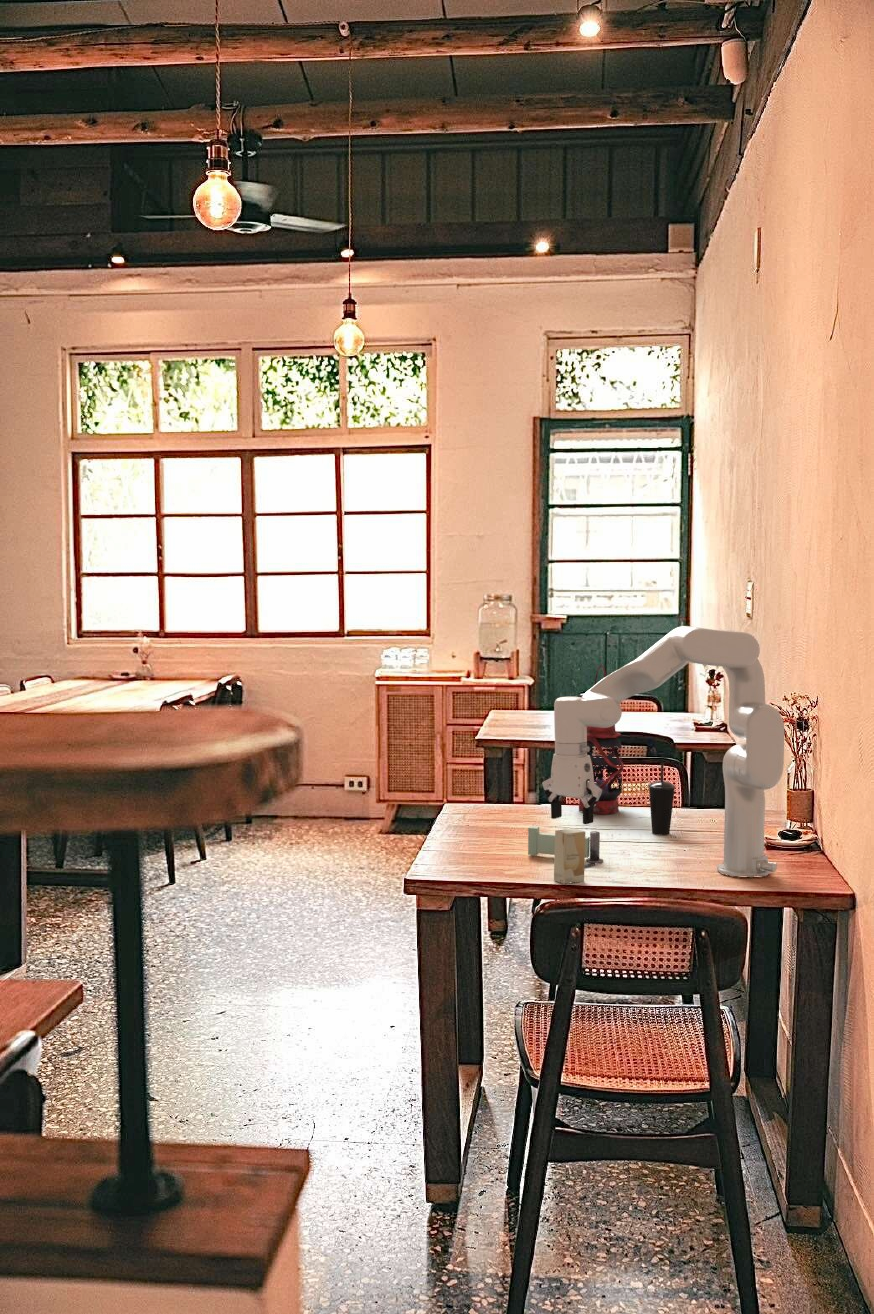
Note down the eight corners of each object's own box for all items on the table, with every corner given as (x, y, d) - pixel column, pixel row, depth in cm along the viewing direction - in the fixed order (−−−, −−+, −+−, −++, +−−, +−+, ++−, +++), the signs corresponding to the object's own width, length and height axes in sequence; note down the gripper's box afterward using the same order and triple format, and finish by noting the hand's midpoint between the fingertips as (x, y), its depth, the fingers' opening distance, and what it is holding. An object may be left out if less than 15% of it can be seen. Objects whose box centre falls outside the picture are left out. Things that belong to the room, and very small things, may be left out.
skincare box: (564, 885, 286) (564, 833, 285) (553, 881, 289) (553, 830, 288) (585, 881, 289) (586, 830, 288) (574, 877, 293) (574, 827, 292)
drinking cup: (674, 837, 338) (676, 765, 336) (646, 835, 339) (648, 764, 338) (674, 831, 345) (676, 761, 344) (647, 830, 347) (648, 760, 345)
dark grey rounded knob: (606, 861, 309) (607, 832, 308) (595, 864, 306) (596, 835, 305) (593, 858, 312) (593, 829, 311) (582, 861, 309) (582, 832, 308)
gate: (589, 857, 310) (589, 830, 310) (587, 860, 308) (587, 832, 308) (530, 852, 316) (531, 826, 315) (528, 854, 314) (528, 827, 313)
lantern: (583, 804, 384) (585, 662, 381) (628, 808, 378) (631, 664, 375) (569, 813, 369) (571, 666, 366) (616, 817, 364) (618, 668, 361)
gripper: (609, 750, 283) (611, 823, 285) (553, 744, 296) (554, 813, 297) (589, 754, 278) (590, 828, 279) (532, 747, 290) (534, 818, 292)
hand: (572, 820), depth 288 cm, fingers open, 9 cm apart
